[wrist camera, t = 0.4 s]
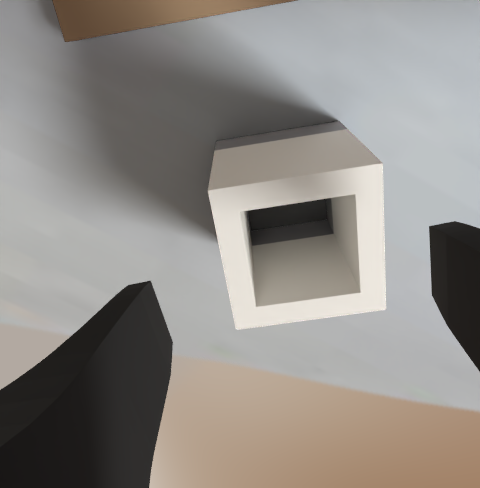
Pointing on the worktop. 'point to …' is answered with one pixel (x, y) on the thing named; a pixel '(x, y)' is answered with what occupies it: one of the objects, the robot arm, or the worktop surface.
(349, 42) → the worktop surface
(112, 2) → the pin board
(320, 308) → the sleeve
